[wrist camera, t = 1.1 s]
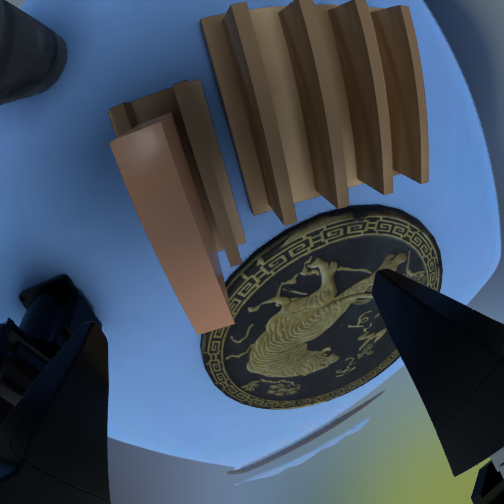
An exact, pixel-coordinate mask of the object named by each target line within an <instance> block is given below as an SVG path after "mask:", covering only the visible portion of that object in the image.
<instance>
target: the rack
mask: <svg viewBox="0 0 504 504" xmlns="http://www.w3.org/2000/svg"><path fill="white" fill-rule="evenodd" d="M200 25H201V29H202V32H203V36H204V39H205V43H206V47H207V50H208V54H209V57H210V61H211V64H212V68H213V72H214V75H215V79H216V83H217V86H218V90H219V93H220V97H221V101H222V104H223V108H224V112H225V115H226V119H227V123H228V127H229V130H230V134H231V138H232V141H233V145H234V149H235V153H236V156H237V160H238V164H239V167H240V171H241V175H242V179H243V183H244V186H245V190H246V194H247V198H248V201H249V205H250V209H251V212H252V213H253V215H254V216H255V215H258V214H261V213H264V212H268V211H271V210H273V211H274V212H275V214H276V215H277V216H278V218H279V219H280V220H281V222H282V223H283V224H284V226H285V225H289V224H292V223H295V222H297V218H296V213H295V207H294V203H297V202H301V201H304V200H307V199H311V198H314V197H318V196H321V195H322V196H323V197H324V198H325V199H327V200H328V201H329V202H330V203H332V204H333V205H334V206H335V207H336V208H338V209H340V208H343V207H347V206H349V197H348V188H349V187H353V186H356V185H360V184H364V183H365V184H367V185H368V186H370V187H372V188H373V189H375V190H377V191H378V192H380V193H381V194H383V195H386V194H390V193H393V176H394V175H397V174H403V175H405V176H407V177H408V178H410V179H412V180H414V181H416V182H418V183H420V184H423V183H427V182H428V180H429V145H428V122H427V109H426V98H425V89H424V81H423V73H422V67H421V61H420V55H419V50H418V44H417V39H416V35H415V30H414V26H413V22H412V18H411V14H410V10H409V7H408V6H402V5H398V6H394V7H389V8H385V9H382V8H373V7H368V6H367V3H366V0H351V1H349V2H347V3H344V4H342V5H314V4H313V0H294V1H293V2H292V3H290V4H289V5H288V6H278V7H267V8H258V9H250V10H249V9H248V6H247V2H244V3H238V4H231V5H230V7H229V9H228V11H227V13H226V14H220V15H215V16H211V17H206V18H202V19H200Z"/></svg>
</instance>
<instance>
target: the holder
mask: <svg viewBox="0 0 504 504" xmlns="http://www.w3.org/2000/svg"><path fill="white" fill-rule="evenodd" d="M172 111H173V113H174V116H175V119H176V122H177V126H178V129H179V132H180V135H181V138H182V142H183V145H184V148H185V151H186V154H187V157H188V160H189V163H190V166H191V170H192V173H193V176H194V179H195V182H196V185H197V188H198V191H199V194H200V197H201V200H202V203H203V206H204V209H205V212H206V214H207V217H208V220H209V223H210V226H211V229H212V232H213V235H214V240H215V244H216V248H217V252H219V251H222V250H225V251H226V254H227V257H228V260H229V263H230V266H231V267H233V266H236V265H239V264H242V261H241V257H240V254H239V251H238V248H237V245H240V244H243V243H246V239H245V236H244V232H243V229H242V225H241V222H240V218H239V215H238V211H237V208H236V204H235V201H234V197H233V194H232V190H231V187H230V183H229V180H228V176H227V173H226V169H225V166H224V162H223V159H222V155H221V152H220V148H219V145H218V141H217V138H216V134H215V131H214V127H213V123H212V120H211V116H210V113H209V109H208V106H207V102H206V99H205V95H204V92H203V88H202V85H201V81H200V79H197V80H194V81H191V82H188V81H187V80H185V81H182V82H179V83H176V84H173V87H171V88H168V89H166V90H163V91H160V92H157V93H154V94H151V95H149V96H146V97H143V98H141V99H138V100H136V101H133V102H129V103H122V104H120V105H117V106H115V107H113V108H111V109H110V112H108V114H109V118H110V121H111V124H112V127H113V129H114V132H115V135H116V138H117V137H119V136H120V135H122V134H124V133H125V132H127V131H129V130H130V129H132V128H134V127H136V126H137V125H139V124H141V123H143V122H144V121H147V120H149V119H152V118H155V117H157V116H160V115H163V114H166V113H169V112H172Z"/></svg>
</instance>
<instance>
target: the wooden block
mask: <svg viewBox="0 0 504 504" xmlns="http://www.w3.org/2000/svg"><path fill="white" fill-rule="evenodd" d="M109 143H110V146H111V149H112V151H113V154H114V157H115V160H116V162H117V165H118V167H119V170H120V173H121V175H122V178H123V180H124V183H125V185H126V188H127V190H128V193H129V195H130V197H131V200H132V202H133V205H134V207H135V209H136V212H137V214H138V216H139V218H140V221H141V223H142V225H143V227H144V230H145V232H146V234H147V236H148V238H149V241H150V243H151V245H152V247H153V249H154V251H155V253H156V256H157V258H158V260H159V262H160V264H161V266H162V268H163V270H164V272H165V274H166V276H167V278H168V280H169V282H170V284H171V286H172V288H173V290H174V292H175V294H176V296H177V298H178V300H179V301H180V303H181V305H182V307H183V309H184V311H185V313H186V315H187V316H188V318H189V320H190V322H191V324H192V326H193V327H194V329H195V331H196V333H197V334H198V335H199V334H203V333H206V332H210V331H213V330H216V329H219V328H223V327H226V326H229V325H232V324H235V322H234V318H233V314H232V310H231V306H230V302H229V298H228V294H227V290H226V286H225V282H224V278H223V274H222V270H221V265H220V261H219V257H218V253H217V248H216V244H215V240H214V235H213V232H212V229H211V226H210V223H209V220H208V217H207V214H206V212H205V209H204V206H203V203H202V200H201V197H200V194H199V191H198V188H197V185H196V182H195V179H194V176H193V173H192V170H191V166H190V163H189V160H188V157H187V154H186V151H185V148H184V145H183V142H182V138H181V135H180V132H179V129H178V126H177V122H176V119H175V116H174V113H173V111H172V112H169V113H166V114H163V115H160V116H157V117H155V118H152V119H149V120H147V121H144V122H143V123H141V124H139V125H137V126H136V127H134V128H132V129H130V130H129V131H127V132H125V133H124V134H122V135H120V136H119V137H117V138H116V139H114V140H112V141H111V142H109Z"/></svg>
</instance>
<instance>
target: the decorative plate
mask: <svg viewBox="0 0 504 504" xmlns="http://www.w3.org/2000/svg"><path fill="white" fill-rule="evenodd" d="M385 268H389V269H391V270H393V271H395V272H397V273H400V274H402V275H404V276H406V277H408V278H410V279H412V280H414V281H417V282H419V283H421V284H423V285H425V286H427V287H429V288H431V289H433V290H435V291H437V292H440V289H441V283H442V272H443V268H442V260H441V253H440V250H439V247H438V245H437V243H436V240H435V238H434V236H433V235H432V234H431V233H430V232H429V231H428V230H427V228H426V227H425V226H424V225H423V224H422V223H421V222H420V221H419V220H418V219H416V218H414V217H413V216H411V215H409V214H407V213H406V212H404V211H402V210H400V209H396V208H391V207H387V206H382V205H356V206H348V207H344V208H340V209H336V210H332V211H329V212H325V213H321V214H318V215H316V216H314V217H312V218H309V219H307V220H305V221H303V222H301V223H299V224H297V225H295V226H293V227H290V228H288V229H286V230H285V231H283V232H282V233H280V234H279V235H277V236H276V237H275V238H273V239H272V240H270V241H269V242H267V243H266V244H265V245H263V246H262V247H260V248H259V249H257V250H256V251H255V252H254V253H253V254H252V255H251V256H250V257H249V258H248V259H247V260H246V261H244V262H243V263H242V264H241V265H240V266H239V267H238V268H237V269H236V270H235V271H234V272H233V273H232V274H231V275H230V276H229V278H228V279H227V281H226V282H225V286H226V290H227V294H228V298H229V302H230V306H231V310H232V314H233V318H234V322H235V324H232V325H229V326H226V327H223V328H219V329H216V330H213V331H210V332H206V333H203V334H202V336H201V345H200V347H201V352H202V357H203V362H204V366H205V369H206V371H207V373H208V375H209V376H210V378H211V380H212V382H213V383H214V385H215V386H216V387H217V388H219V389H220V390H221V391H222V392H223V393H224V394H225V395H226V396H228V397H230V398H232V399H233V400H235V401H237V402H239V403H241V404H245V405H248V406H252V407H256V408H263V409H273V410H279V409H295V408H301V407H307V406H312V405H316V404H319V403H323V402H326V401H329V400H332V399H334V398H337V397H339V396H342V395H344V394H347V393H349V392H351V391H353V390H355V389H357V388H358V387H360V386H362V385H364V384H365V383H367V382H369V381H370V380H372V379H373V378H375V377H376V376H378V375H379V374H380V373H382V372H383V371H384V370H386V369H387V368H388V367H389V366H390V365H392V364H393V363H394V362H395V361H396V360H397V359H398V358H399V357H400V354H399V352H398V350H397V348H396V347H395V345H394V343H393V341H392V339H391V337H390V335H389V333H388V331H387V329H386V326H385V324H384V322H383V319H382V317H381V315H380V312H379V310H378V307H377V305H376V303H375V301H374V298H373V296H372V287H373V282H374V277H375V273H376V272H377V271H378V270H381V269H385Z"/></svg>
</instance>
